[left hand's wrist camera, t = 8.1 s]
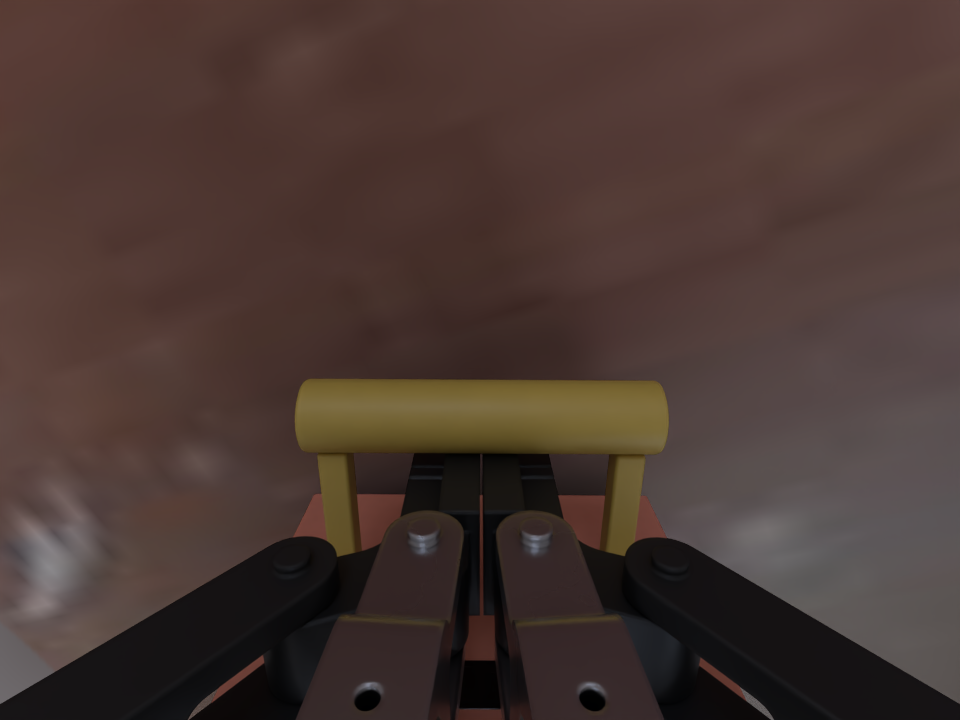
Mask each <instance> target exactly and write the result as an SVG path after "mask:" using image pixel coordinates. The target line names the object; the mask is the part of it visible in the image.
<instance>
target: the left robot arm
mask: <svg viewBox="0 0 960 720" xmlns="http://www.w3.org/2000/svg"><path fill="white" fill-rule="evenodd" d="M483 615H494V622H495V663H496V672H497V680H498V689H499V698H500V706H501V715H502V720H770V719H769V718H768V717H767V716H765V715H764V714H763V713H761V712H760V711H759V710H757V709H756V708H755V707H753V706H752V705H751V704H749V703H748V702H747V701H745V700H744V699H743V698H741V697H740V696H739V695H738V694H736V693H735V692H734V691H732V690H731V689H730V688H728V687H727V686H726V685H724V684H723V683H722V682H720V681H719V680H718V679H716V678H715V677H714V676H712V675H711V674H710V673H709V672H707V671H706V670H705V669H703V668H702V667H701V666H699V663H700V658H702V659H703V660H705V661H706V662H707V663H709V664H710V665H711V666H713V667H714V668H715V669H717V670H718V671H719V672H721V673H722V674H724V675H725V676H726V677H728V678H729V679H730V680H732V681H733V682H734V683H736V684H737V685H738V686H740V687H741V688H742V689H744V690H745V691H746V692H748V693H749V694H750V695H752V696H753V697H754V698H756V699H757V700H758V701H759V702H761V703H762V704H763V705H764V706H765V708H766V709H767V710H768V711H769V712H770V714H771V715H772V717H773V718H774V720H960V704H959V703H957V702H955V701H953V700H952V699H950V698H948V697H947V696H945V695H943V694H942V693H940V692H938V691H936V690H935V689H933V688H931V687H930V686H928V685H926V684H924V683H923V682H921V681H919V680H918V679H916V678H914V677H913V676H911V675H909V674H907V673H906V672H904V671H902V670H901V669H899V668H897V667H896V666H894V665H892V664H890V663H889V662H887V661H885V660H884V659H882V658H880V657H879V656H877V655H875V654H873V653H872V652H870V651H868V650H867V649H865V648H863V647H862V646H860V645H858V644H856V643H855V642H853V641H851V640H850V639H848V638H846V637H844V636H843V635H841V634H839V633H838V632H836V631H834V630H833V629H831V628H829V627H827V626H826V625H824V624H822V623H821V622H819V621H817V620H816V619H814V618H812V617H810V616H809V615H807V614H805V613H804V612H802V611H800V610H799V609H797V608H795V607H793V606H792V605H790V604H788V603H787V602H785V601H783V600H782V599H780V598H778V597H776V596H775V595H773V594H771V593H770V592H768V591H766V590H764V589H763V588H761V587H759V586H758V585H756V584H754V583H753V582H751V581H749V580H747V579H746V578H744V577H742V576H741V575H739V574H737V573H736V572H734V571H732V570H730V569H729V568H727V567H725V566H724V565H722V564H720V563H719V562H717V561H715V560H713V559H712V558H710V557H708V556H707V555H705V554H703V553H702V552H700V551H698V550H696V549H695V548H693V547H691V546H689V545H687V544H685V543H682V542H680V541H677V540H673V539H668V538H661V537H650V538H644V539H641V540H638V541H636V542H634V543H633V544H632V545H630V546H629V548H628V549H627V551H626V553H625V556H622V555H618V554H614V553H609V552H605V551H601V550H598V549H595V548H592V547H590V546H588V545H586V544H584V543H582V542H581V541H579V540H578V539H577V537H576V534H575V532H574V530H573V528H572V527H571V526H570V524H569V523H567V522H566V521H565V520H564V518H563V514H562V509H561V505H560V501H559V496H558V492H557V488H556V484H555V479H554V475H553V471H552V468H551V462H550V458H549V454H483ZM469 616H480V453H414V457H413V462H412V468H411V471H410V475H409V480H408V484H407V489H406V493H405V497H404V502H403V506H402V511H401V515H400V517H399V518H398V519H396V520H395V521H394V522H393V523H391V524H390V526H389V527H388V528H387V530H386V532H385V534H384V537H383V539H382V542H381V543H380V544H378V545H376V546H374V547H372V548H369V549H367V550H363V551H360V552H355V553H351V554H347V555H343V556H338V557H337V552H336V550H335V548H334V547H333V545H332V544H331V543H329V542H328V541H326V540H324V539H321V538H318V537H313V536H299V537H293V538H288V539H285V540H282V541H279V542H277V543H274V544H273V545H271V546H269V547H267V548H265V549H264V550H262V551H260V552H258V553H257V554H255V555H253V556H252V557H250V558H248V559H247V560H245V561H243V562H241V563H240V564H238V565H236V566H235V567H233V568H231V569H230V570H228V571H226V572H224V573H223V574H221V575H219V576H218V577H216V578H214V579H213V580H211V581H209V582H207V583H206V584H204V585H202V586H201V587H199V588H197V589H196V590H194V591H192V592H190V593H189V594H187V595H185V596H184V597H182V598H180V599H178V600H177V601H175V602H173V603H172V604H170V605H168V606H167V607H165V608H163V609H161V610H160V611H158V612H156V613H155V614H153V615H151V616H150V617H148V618H146V619H144V620H143V621H141V622H139V623H138V624H136V625H134V626H133V627H131V628H129V629H127V630H126V631H124V632H122V633H121V634H119V635H117V636H116V637H114V638H112V639H110V640H109V641H107V642H105V643H104V644H102V645H100V646H98V647H97V648H95V649H93V650H92V651H90V652H88V653H87V654H85V655H83V656H81V657H80V658H78V659H76V660H75V661H73V662H71V663H70V664H68V665H66V666H64V667H63V668H61V669H59V670H58V671H56V672H54V673H53V674H51V675H49V676H47V677H46V678H44V679H42V680H41V681H39V682H37V683H36V684H34V685H32V686H30V687H29V688H27V689H25V690H24V691H22V692H20V693H18V694H17V695H15V696H13V697H12V698H10V699H8V700H7V701H5V702H3V703H1V704H0V720H188V718H189V716H190V714H191V713H192V712H193V710H194V709H195V708H196V706H197V705H198V704H199V703H200V702H201V701H202V700H203V699H205V698H206V697H207V696H208V695H210V694H211V693H212V692H214V691H215V690H216V689H218V688H219V687H220V686H222V685H223V684H224V683H226V682H227V681H228V680H230V679H231V678H232V677H234V676H235V675H236V674H238V673H239V672H241V671H242V670H243V669H245V668H246V667H247V666H249V665H250V664H251V663H253V662H254V661H255V660H257V659H258V658H259V657H261V656H262V655H263V658H264V663H263V664H262V665H261V666H259V667H258V668H257V669H255V670H254V671H253V672H251V673H250V674H249V675H248V676H246V677H245V678H244V679H242V680H241V681H240V682H238V683H237V684H236V685H234V686H233V687H232V688H230V689H229V690H228V691H226V692H225V693H224V694H222V695H221V696H220V697H219V698H217V699H216V700H215V701H213V702H212V703H211V704H209V705H208V706H207V707H205V708H204V709H203V710H201V711H200V712H199V713H197V714H196V715H195V716H194V717H192V718H191V719H190V720H458V715H459V706H460V697H461V689H462V680H463V672H464V663H465V643H466V641H467V638H468V634H469Z"/></svg>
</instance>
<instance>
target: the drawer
mask: <svg viewBox="0 0 960 720" xmlns="http://www.w3.org/2000/svg"><path fill="white" fill-rule="evenodd" d="M668 428H669V413H668V405H667V400H666V396H665V393H664V390H663V388H662V386H661V385H660V384H659V383H658V382H656V381H626V380H454V379H308V380H306V381H304V382H303V384H302V385H301V387H300V390H299V393H298V397H297V401H296V407H295V431H296V437H297V441H298V444H299V447H300V448H301V449H302V450H303V451H305V452H308V453H318V456H317V459H318V468H319V476H320V485H321V493H322V494H315V495H314V496H313V498H312V500H311V502H310V504H309V506H308V508H307V510H306V512H305V514H304V516H303V518H302V520H301V522H300V524H299V526H298V528H297V530H296V532H295V534H294V536H293V537H299V536H313V537H318V538H321V539H324V540H326V541H328V542H329V543H331V544H332V545H333V547H334V548H335V550H336V552H337V557H338V556H343V555H347V554H351V553H355V552H360V551H363V550H367V549H369V548H372V547H374V546H376V545H378V544H380V543H381V542H382V539H383V537H384V534H385V532H386V530H387V528H388V527H389V526H390V524H391V523H393V522H394V521H395V520H396V519H398V518H399V517H400V515H401V511H402V506H403V502H404V497H405V494H357V489H356V478H355V467H354V455H353V453H482V454H609V463H608V472H607V482H606V491H605V496H602V495H558V496H559V501H560V505H561V509H562V514H563V518H564V520H565V521H566V522H567V523H569V524H570V526H571V527H572V528H573V530H574V532H575V534H576V537H577V539H578V540H579V541H581V542H582V543H584V544H586V545H588V546H590V547H592V548H595V549H598V550H601V551H605V552H609V553H614V554H618V555H622V556H625V553H626V551H627V549H628V548H629V546H630V545H632V544H633V543H634V542H636V541H638V540H641V539H644V538H650V537H661V538H667V537H666V535H665V533H664V531H663V529H662V527H661V525H660V523H659V521H658V519H657V517H656V515H655V513H654V511H653V509H652V506H651V504H650V502H649V500H648V498H647V497H646V496H641V489H642V482H643V474H644V467H645V459H646V458H645V456H644V454H658V453H660V452H662V450H663V449H664V447H665V444H666V440H667V435H668ZM263 663H264V658H263V655H262V656H261V657H259V658H258V659H257V660H255V661H254V662H253V663H251V664H250V665H249V666H247V667H246V668H245V669H243V670H242V671H241V672H239V673H238V674H236V675H235V676H234V677H232V678H231V679H230V680H228V681H227V682H226V683H224V684H223V685H222V686H220V687H219V688H218V690H217V692H216V694H215V696H214V698H213V700H212V702H213V701H215V700H216V699H217V698H219V697H220V696H221V695H222V694H224V693H225V692H226V691H228V690H229V689H230V688H232V687H233V686H234V685H236V684H237V683H238V682H240V681H241V680H242V679H244V678H245V677H246V676H248V675H249V674H250V673H251V672H253V671H254V670H255V669H257V668H258V667H259V666H261V665H262V664H263ZM699 666H701V667H702V668H703V669H705V670H706V671H707V672H709V673H710V674H711V675H712V676H714V677H715V678H716V679H718V680H719V681H720V682H722V683H723V684H724V685H726V686H727V687H728V688H730V689H731V690H732V691H734V692H735V693H736V694H738V695H739V696H740V697H741V698H743V699H744V700H745V701H746V699H745V697H744V695H743V693H742V691H741V689H740V687H739V686H738V685H737V684H736V683H734V682H733V681H732V680H730V679H729V678H728V677H726V676H725V675H724V674H722V673H721V672H719V671H718V670H717V669H715V668H714V667H713V666H711V665H710V664H709V663H707V662H706V661H705V660H703V659H702V658H700V663H699ZM212 702H211V703H212ZM458 720H502V715H501V706H500V698H499V689H498V680H497V672H496V663H495V622H494V615H483V495H480V616H469V634H468V638H467V641H466V643H465V663H464V672H463V680H462V689H461V697H460V706H459V715H458Z"/></svg>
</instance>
